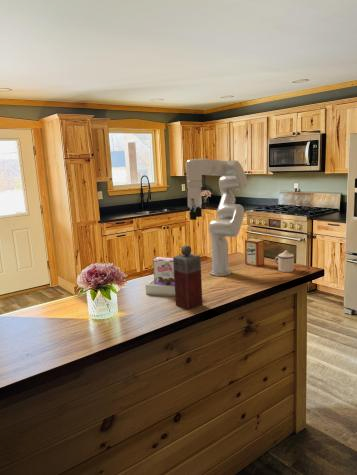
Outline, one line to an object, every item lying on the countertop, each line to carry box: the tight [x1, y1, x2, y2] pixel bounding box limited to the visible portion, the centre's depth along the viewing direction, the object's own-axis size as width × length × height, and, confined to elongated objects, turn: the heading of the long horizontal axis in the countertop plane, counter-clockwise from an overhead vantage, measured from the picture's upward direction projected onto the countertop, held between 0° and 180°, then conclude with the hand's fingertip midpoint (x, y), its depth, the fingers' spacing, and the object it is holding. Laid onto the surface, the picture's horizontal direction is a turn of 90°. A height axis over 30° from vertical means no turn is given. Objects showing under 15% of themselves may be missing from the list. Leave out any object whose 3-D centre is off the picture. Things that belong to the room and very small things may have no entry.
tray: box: [145, 278, 175, 297], centre depth 194 cm, size 12×20×5 cm, turn 71°
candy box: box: [152, 256, 175, 286], centre depth 192 cm, size 14×6×16 cm, turn 64°
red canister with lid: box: [172, 244, 203, 311], centre depth 172 cm, size 9×11×28 cm
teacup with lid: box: [274, 250, 295, 273], centre depth 220 cm, size 12×9×12 cm
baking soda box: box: [244, 237, 265, 268], centre depth 234 cm, size 10×6×16 cm
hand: (196, 218), depth 193 cm, fingers open, 9 cm apart
